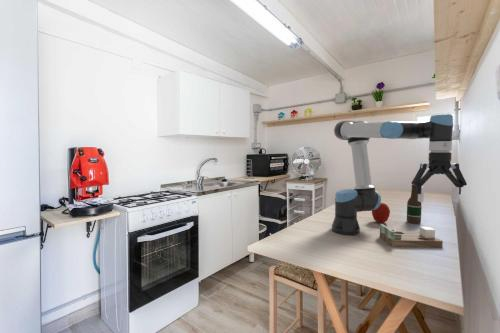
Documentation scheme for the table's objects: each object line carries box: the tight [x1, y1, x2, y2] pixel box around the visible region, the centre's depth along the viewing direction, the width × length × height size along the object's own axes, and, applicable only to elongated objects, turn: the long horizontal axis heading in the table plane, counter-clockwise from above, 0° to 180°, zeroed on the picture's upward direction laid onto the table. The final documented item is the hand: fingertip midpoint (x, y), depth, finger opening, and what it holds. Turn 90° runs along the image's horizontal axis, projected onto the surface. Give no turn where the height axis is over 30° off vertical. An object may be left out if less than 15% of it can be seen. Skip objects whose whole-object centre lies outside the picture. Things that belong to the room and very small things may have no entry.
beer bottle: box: [406, 184, 423, 225], centre depth 153 cm, size 8×8×24 cm
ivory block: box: [419, 226, 436, 238], centre depth 121 cm, size 4×4×4 cm
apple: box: [371, 202, 391, 224], centre depth 154 cm, size 10×10×14 cm
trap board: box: [379, 223, 444, 248], centre depth 122 cm, size 13×23×7 cm, turn 86°
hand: (437, 201), depth 103 cm, fingers open, 13 cm apart
